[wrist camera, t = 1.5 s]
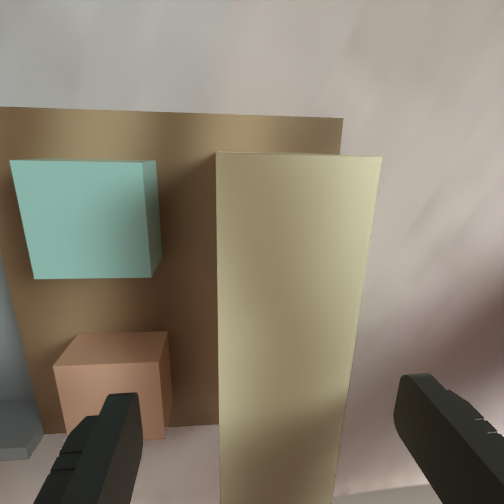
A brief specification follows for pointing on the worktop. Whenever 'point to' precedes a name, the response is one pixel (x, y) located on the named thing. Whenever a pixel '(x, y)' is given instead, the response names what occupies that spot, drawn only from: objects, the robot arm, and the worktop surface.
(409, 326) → the worktop surface
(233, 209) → the cream wooden beam
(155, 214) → the tile
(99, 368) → the tile
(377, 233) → the worktop surface
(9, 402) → the box
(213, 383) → the board
